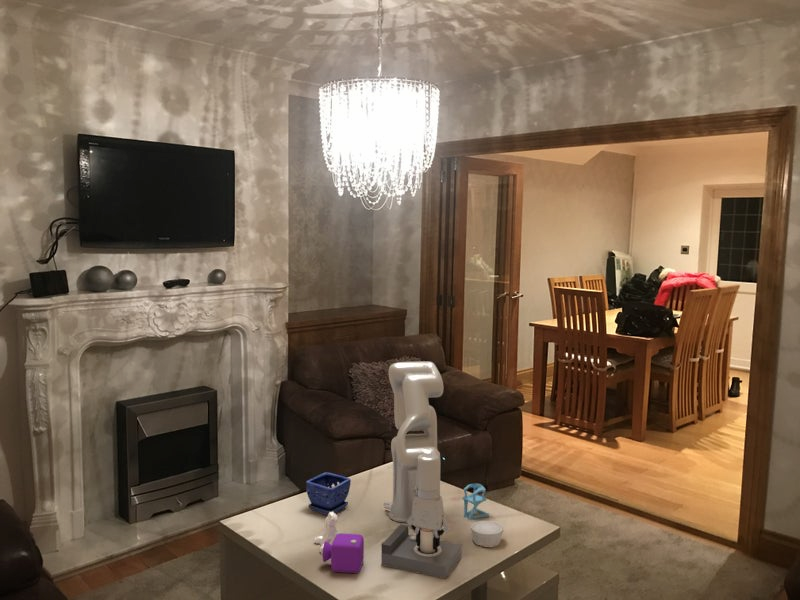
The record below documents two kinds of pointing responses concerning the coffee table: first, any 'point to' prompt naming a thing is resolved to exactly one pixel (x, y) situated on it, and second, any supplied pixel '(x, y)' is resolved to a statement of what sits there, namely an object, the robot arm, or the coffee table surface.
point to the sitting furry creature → (328, 530)
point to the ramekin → (486, 533)
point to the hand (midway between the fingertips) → (427, 545)
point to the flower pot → (328, 492)
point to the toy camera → (345, 552)
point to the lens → (426, 541)
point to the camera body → (418, 554)
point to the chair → (474, 501)
